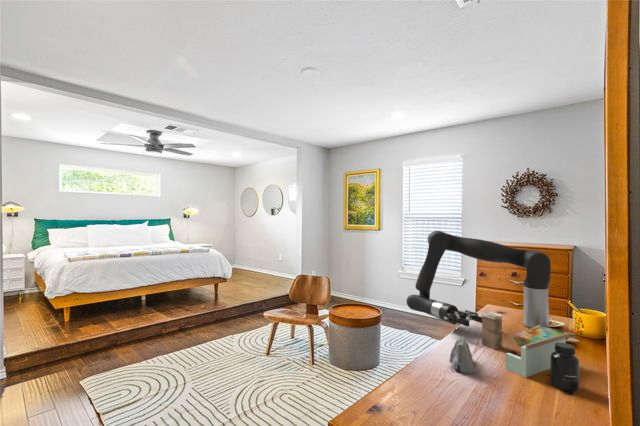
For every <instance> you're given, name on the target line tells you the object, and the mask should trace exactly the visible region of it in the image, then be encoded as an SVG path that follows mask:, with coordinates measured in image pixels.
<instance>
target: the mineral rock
mask: <svg viewBox="0 0 640 426" xmlns="http://www.w3.org/2000/svg"><path fill="white" fill-rule="evenodd" d="M449 362H450V364H451V366H452V368H453V370H454V371H455V372H459V373H462V374H466V375H467V374H473V373H474V372H475V366H474V360H473V356H472V353H471V350H470V345H469V344H468V342H467V341H466V338H465V336H464V335H462V336H461V337H459V338H457V340H455V343H454V346H453V347H452V349H451V351H450V355H449Z"/></svg>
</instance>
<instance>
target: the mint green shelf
mask: <svg viewBox="0 0 640 426" xmlns="http://www.w3.org/2000/svg"><path fill="white" fill-rule="evenodd" d="M568 333H569V332H567V333H564V334H560V335H557V336H553V337H550V338H546V339H543V340H539V341H536V342H533V343H529V344H526V345H525V346H522V345H520V356H518V355H516V354H513V353H511V352H507V353H505V370H507V371H509V372H512V373H514V374H516V375H519V376H520V377H523V378H528V377H531V376H534V375H537V374H540V373H542V372H545V371H548V370H550V364H551V354H552V352H554V351H555V343H558V342H559V343H567V340H566V338H567V337H568Z"/></svg>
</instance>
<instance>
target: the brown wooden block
mask: <svg viewBox="0 0 640 426" xmlns="http://www.w3.org/2000/svg"><path fill="white" fill-rule="evenodd" d="M481 317H482V323H481V328H482V329H481V345H482V346H484V347H486V348H490V349H491V350H498V349H501V348H502V347H503V315H502V314H500V313H497V312H496V313H495V312H493V311H487V312H482V313H481Z"/></svg>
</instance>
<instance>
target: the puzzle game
mask: <svg viewBox="0 0 640 426" xmlns="http://www.w3.org/2000/svg"><path fill="white" fill-rule="evenodd" d="M564 333H568V337H567V338H566V341H567V340H569V339H571V338H572V333H570V332H567V331H563V330H558V329H554V328H551V327H548V328H547V327H543V326H539V325H538V326H535V327H532V328H531V327H529V328H527V329H525V330H522V331H519V332H517V333H514V334H513V335H514V336H513V339H514V340H515V341H516V342H517V344H518V345H520V346H525V345H526V344H529V343H533V342H536V341H539V340H543V339H546V338H550V337H553V336H557V335H560V334H564Z"/></svg>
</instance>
